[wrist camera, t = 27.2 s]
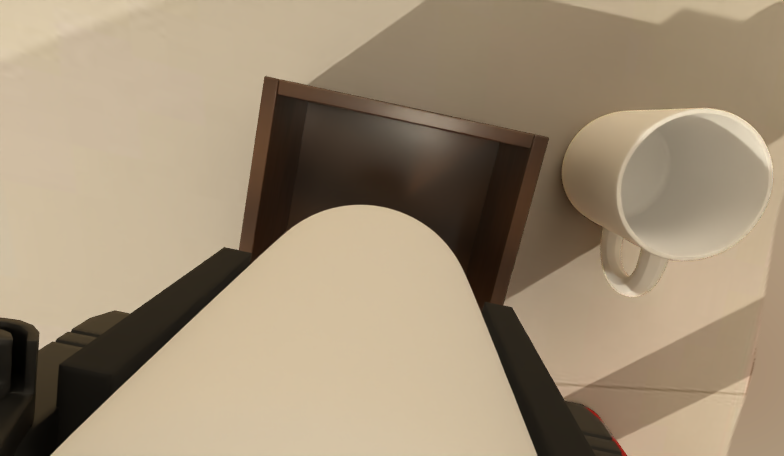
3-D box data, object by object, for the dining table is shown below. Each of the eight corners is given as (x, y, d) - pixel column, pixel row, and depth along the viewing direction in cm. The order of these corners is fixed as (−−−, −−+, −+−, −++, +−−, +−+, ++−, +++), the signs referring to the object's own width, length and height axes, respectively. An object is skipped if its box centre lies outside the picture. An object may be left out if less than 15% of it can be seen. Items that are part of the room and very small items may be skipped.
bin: (301, 87, 36) (264, 75, 26) (511, 132, 36) (549, 137, 27) (268, 287, 39) (225, 341, 30) (461, 327, 40) (478, 393, 30)
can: (416, 432, 16) (449, 1312, 4) (227, 355, 15) (-327, 1090, 4) (507, 254, 15) (930, 809, 3) (303, 165, 14) (-184, 382, 2)
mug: (642, 277, 38) (727, 334, 28) (536, 261, 38) (583, 312, 28) (685, 120, 36) (795, 121, 26) (572, 102, 36) (638, 96, 26)
